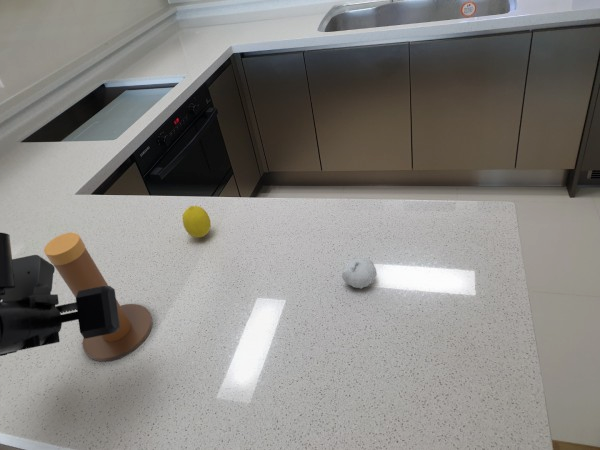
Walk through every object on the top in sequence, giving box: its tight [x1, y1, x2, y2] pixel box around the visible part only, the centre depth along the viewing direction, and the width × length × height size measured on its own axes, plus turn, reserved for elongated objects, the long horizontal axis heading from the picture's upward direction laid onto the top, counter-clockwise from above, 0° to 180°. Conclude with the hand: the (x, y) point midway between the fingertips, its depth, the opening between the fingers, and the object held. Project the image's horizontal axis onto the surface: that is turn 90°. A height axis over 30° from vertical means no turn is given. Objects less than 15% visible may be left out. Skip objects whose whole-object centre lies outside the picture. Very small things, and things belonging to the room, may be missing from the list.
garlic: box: [341, 257, 378, 289], centre depth 79 cm, size 6×5×5 cm
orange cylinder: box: [43, 232, 131, 342], centre depth 74 cm, size 5×5×20 cm
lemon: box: [182, 205, 212, 238], centre depth 97 cm, size 6×6×8 cm
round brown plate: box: [82, 303, 153, 362], centre depth 81 cm, size 12×12×1 cm
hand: (77, 318), depth 68 cm, fingers open, 9 cm apart
